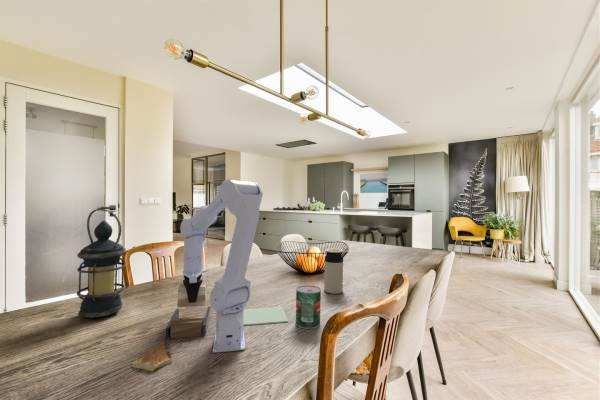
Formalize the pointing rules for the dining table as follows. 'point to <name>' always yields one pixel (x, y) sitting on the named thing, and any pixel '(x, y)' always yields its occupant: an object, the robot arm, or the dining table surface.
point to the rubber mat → (264, 316)
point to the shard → (154, 358)
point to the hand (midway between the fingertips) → (192, 299)
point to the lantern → (101, 272)
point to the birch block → (184, 299)
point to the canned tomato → (308, 306)
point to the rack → (176, 315)
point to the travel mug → (333, 271)
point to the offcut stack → (186, 326)
